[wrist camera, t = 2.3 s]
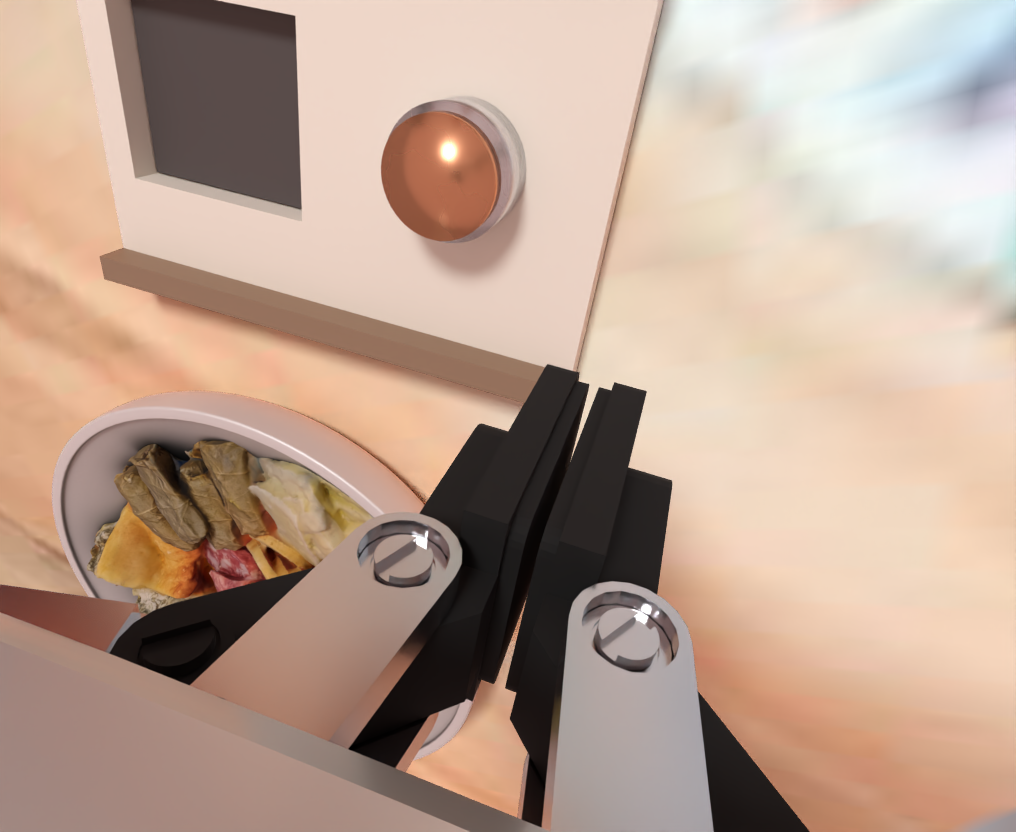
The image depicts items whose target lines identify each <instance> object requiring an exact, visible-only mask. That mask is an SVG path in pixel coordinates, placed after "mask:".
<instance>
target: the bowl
mask: <svg viewBox="0 0 1016 832" xmlns="http://www.w3.org/2000/svg"><path fill="white" fill-rule="evenodd" d="M52 506H53V513H54V519H55V524H56V528H57V531H58V535H59V538H60V541H61V544H62V547H63V549H64V551H65V554H66V556H67V559H68V561H69V563H70V565H71V567H72V569H73V571H74V573H75V575H76V577H77V578H78V580H79V582H80V583H81V585H82V587H83V588H84V590H85V592H86V593H87V595H88V596H89V597H93V598H100V599H107V600H114V601H121V602H128V603H135V604H138V608H139V612H140V613H143V614H149V613H150V612H152V611H154V610H156V609H159V608H162V607H165V606H167V605H170V604H173V603H176V602H180V601H184V600H188V599H192V598H196V597H200V596H204V595H207V594H211V593H215V592H219V591H223V590H227V589H231V588H235V587H239V586H243V585H247V584H251V583H255V582H259V581H262V580H266V579H270V578H274V577H278V576H282V575H286V574H290V573H294V572H298V571H302V570H306V569H310V568H314V567H316V566H317V565H318V564H319V563H320V562H321V561H322V560H323V559H324V558H325V557H326V556H327V555H328V554H329V553H331V552H332V551H333V550H334V549H335V548H336V547H337V546H338V545H339V544H340V543H341V542H342V541H343V540H344V539H345V538H346V537H347V536H349V535H350V534H351V533H352V532H353V531H354V530H355V529H356V528H357V527H359V526H360V525H362V524H363V523H365V522H366V521H367V520H369V519H372V518H375V517H377V516H380V515H383V514H388V513H396V512H408V513H420V511H421V510H422V508H423V507H424V504H423V503H422V502H421V501H420V500H419V498H418V497H417V496H416V495H415V494H414V493H413V492H412V491H411V490H410V489H409V488H408V487H407V486H406V485H405V484H404V483H403V482H402V481H401V480H400V479H399V478H398V477H397V476H396V475H395V474H394V473H392V472H391V471H390V470H389V469H388V468H387V467H385V466H384V465H383V464H382V463H381V462H379V461H378V460H377V459H376V458H374V457H373V456H372V455H370V454H369V453H368V452H366V451H365V450H364V449H362V448H361V447H359V446H358V445H356V444H355V443H353V442H352V441H350V440H349V439H347V438H345V437H344V436H342V435H341V434H339V433H337V432H336V431H334V430H332V429H330V428H328V427H327V426H325V425H323V424H321V423H319V422H317V421H315V420H313V419H311V418H308V417H306V416H304V415H302V414H299V413H297V412H295V411H292V410H290V409H287V408H284V407H282V406H279V405H276V404H273V403H269V402H266V401H263V400H259V399H255V398H251V397H247V396H242V395H236V394H231V393H223V392H213V391H177V392H167V393H161V394H156V395H150V396H147V397H143V398H139V399H136V400H133V401H130V402H127V403H125V404H122V405H120V406H117V407H115V408H113V409H112V410H110V411H108V412H106V413H104V414H102V415H100V416H99V417H97V418H95V419H94V420H92V421H90V422H89V423H87V424H86V425H85V426H83V427H82V428H81V429H80V430H78V431H77V432H76V433H75V434H74V435H73V436H72V437H71V439H70V440H69V441H68V442H67V444H66V445H65V447H64V448H63V450H62V452H61V454H60V456H59V458H58V461H57V464H56V467H55V471H54V475H53V483H52ZM477 691H478V689H477ZM476 694H477V692H476ZM476 694H475V697H476ZM475 697H474V699H473V701H470V700H467V699H466V700H465V702H463V703H460V704H458V705H455V706H453V707H450V708H447V709H445V710H442V711H440V712H439V715H438V717H437V720H436V722H435V725H434V727H433V729H432V731H431V732H430V734H429V735H428V737H427V739H426V740H425V742H424V743H423V745H422V747H421V748H420V750H419V751H418V753H417V754H416V756H415V758H414V759H413V760H417V759H420V758H422V757H425V756H427V755H429V754H431V753H433V752H435V751H437V750H438V749H440V748H441V747H443V746H444V745H445V744H447V743H448V742H449V741H450V740H451V739H452V738H453V737H454V736H455V735H456V734H457V733H458V731H459V730H460V729H461V727H462V726H463V724H464V722H465V721H466V719H467V717H468V714H469V712H470V710H471V707H472V705H473V702H474V700H475Z"/></svg>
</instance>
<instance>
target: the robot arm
mask: <svg viewBox="0 0 1016 832" xmlns="http://www.w3.org/2000/svg"><path fill="white" fill-rule="evenodd" d="M578 379H579V372H575V371H571V370H568V369H564V368H561V367H557V366H553V365H550V364H547V365H546V367H545V368H544V370H543V372H542V374H541V375H540V377H539V379H538V381H537V382H536V384H535V386H534V388H533V389H532V391H531V393H530V395H529V396H528V398H527V400H526V402H525V403H524V405H523V407H522V409H521V410H520V412H519V414H518V416H517V417H516V419H515V421H514V423H513V424H512V426H511V428H510V430H509V431H505V430H501V429H498V428H495V427H491V426H488V425H485V424H479V425H478V426H477V427H476V428H475V430H474V431H473V433H472V434H471V436H470V437H469V439H468V440H467V442H466V443H465V445H464V446H463V448H462V449H461V451H460V452H459V454H458V455H457V457H456V458H455V460H454V461H453V463H452V464H451V466H450V467H449V469H448V470H447V472H446V474H445V475H444V477H443V478H442V480H441V481H440V483H439V484H438V486H437V487H436V489H435V490H434V492H433V493H432V495H431V496H430V498H429V499H428V501H427V502H426V504H425V505H424V507H423V508H422V510H421V511H420V513H408V512H396V513H388V514H383V515H380V516H377V517H375V518H372V519H369V520H367V521H366V522H365V523H363V524H362V525H360V526H359V527H357V528H356V529H355V530H354V531H353V532H352V533H351V534H350V535H349V536H347V537H346V538H345V539H344V540H343V541H342V542H341V543H340V544H339V545H338V546H337V547H336V548H335V549H334V550H333V551H332V552H331V553H329V554H328V555H327V556H326V557H325V558H324V559H323V560H322V561H321V562H320V563H319V564H318V565H317V566H316V567H314V568H310V569H306V570H302V571H298V572H294V573H290V574H286V575H282V576H278V577H274V578H270V579H266V580H262V581H259V582H255V583H251V584H247V585H243V586H239V587H235V588H231V589H227V590H223V591H219V592H215V593H211V594H207V595H204V596H200V597H196V598H192V599H188V600H184V601H180V602H176V603H173V604H170V605H167V606H165V607H162V608H159V609H156V610H154V611H152V612H150V613H149V614H143V613H140V612H139V608H138V604H135V603H128V602H121V601H114V600H107V599H100V598H93V597H85V596H78V595H71V594H64V593H57V592H50V591H43V590H36V589H29V588H22V587H15V586H8V585H1V584H0V832H809V830H808V829H807V828H806V827H805V825H804V824H803V823H802V822H801V820H800V819H799V818H798V817H797V815H796V814H795V813H794V811H793V810H792V809H791V808H790V806H789V805H788V804H787V803H786V801H785V800H784V799H783V798H782V796H781V795H780V794H779V793H778V791H777V790H776V789H775V788H774V786H773V785H772V784H771V783H770V781H769V780H768V779H767V777H766V776H765V775H764V774H763V772H762V771H761V770H760V769H759V767H758V766H757V765H756V764H755V762H754V761H753V760H752V759H751V757H750V756H749V755H748V754H747V752H746V751H745V750H744V749H743V747H742V746H741V745H740V743H739V742H738V741H737V740H736V738H735V737H734V736H733V735H732V733H731V732H730V731H729V730H728V728H727V727H726V726H725V725H724V723H723V722H722V721H721V720H720V718H719V717H718V716H717V715H716V713H715V712H714V711H713V709H712V708H711V707H710V706H709V704H708V703H707V702H706V701H705V699H704V698H703V697H702V696H701V694H700V693H699V692H698V690H697V681H696V672H695V664H694V655H693V646H692V641H691V637H690V634H689V631H688V627H687V625H686V624H685V622H684V621H683V619H682V618H681V616H680V615H679V613H678V612H677V611H676V610H675V609H674V608H673V607H672V606H671V605H670V604H669V603H668V602H667V601H666V600H665V599H663V598H662V597H660V596H658V595H657V591H658V584H659V577H660V570H661V562H662V555H663V548H664V541H665V534H666V526H667V519H668V512H669V505H670V498H671V491H672V480H668V479H665V478H662V477H658V476H655V475H652V474H648V473H645V472H642V471H638V470H635V469H632V468H628V465H629V461H630V457H631V453H632V449H633V445H634V441H635V437H636V433H637V429H638V425H639V421H640V417H641V413H642V409H643V405H644V401H645V397H646V392H647V391H644V390H640V389H636V388H633V387H629V386H626V385H622V384H618V383H615V382H614V385H613V388H612V391H611V390H608V389H604V388H600V387H599V389H598V391H597V394H596V397H595V399H594V402H593V404H592V407H591V410H590V412H589V415H588V417H587V420H586V423H585V425H584V428H583V430H582V433H581V436H580V438H579V441H578V443H577V446H576V449H575V451H574V454H573V456H572V453H573V449H574V445H575V441H576V437H577V433H578V429H579V425H580V421H581V417H582V413H583V409H584V405H585V401H586V397H587V393H588V389H589V384H586V383H582V382H579V381H578ZM571 457H572V459H571ZM570 461H571V462H570ZM526 598H527V599H526ZM525 600H526V604H525V608H524V612H523V616H522V620H521V624H520V628H519V633H518V637H517V641H516V645H515V649H514V653H513V657H512V661H511V666H510V670H509V674H508V678H507V682H506V687H505V688H506V689H508V690H511V691H514V692H516V697H515V701H514V705H513V709H512V713H511V716H510V720H511V722H512V723H513V725H514V727H515V729H516V731H517V733H518V735H519V737H520V739H521V740H522V742H523V744H524V746H525V748H526V750H527V752H528V753H527V756H526V760H525V763H524V769H523V776H522V784H521V792H520V800H519V807H518V815H517V818H516V817H514V816H511V815H509V814H506V813H504V812H501V811H499V810H496V809H494V808H492V807H489V806H487V805H484V804H482V803H479V802H477V801H474V800H472V799H469V798H467V797H465V796H462V795H460V794H457V793H455V792H452V791H450V790H447V789H445V788H442V787H440V786H437V785H435V784H433V783H430V782H428V781H425V780H423V779H420V778H418V777H415V776H413V775H410V774H408V773H405V772H406V770H407V769H408V767H409V766H410V764H411V762H412V761H413V759H414V758H415V756H416V754H417V753H418V751H419V750H420V748H421V747H422V745H423V743H424V742H425V740H426V739H427V737H428V735H429V734H430V732H431V731H432V729H433V727H434V725H435V722H436V720H437V717H438V715H439V712H440V711H442V710H445V709H447V708H450V707H453V706H455V705H458V704H460V703H463V702H465V700H466V699H467V700H470V701H473V699H474V697H475V694H476V692H477V689H478V687H479V684H480V682H481V680H484V681H487V682H489V683H492V684H494V683H495V681H496V678H497V676H498V673H499V670H500V668H501V665H502V662H503V660H504V657H505V654H506V652H507V649H508V646H509V643H510V641H511V638H512V635H513V633H514V630H515V627H516V625H517V622H518V619H519V616H520V614H521V611H522V608H523V606H524V603H525Z"/></svg>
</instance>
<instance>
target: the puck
mask: <svg viewBox="0 0 1016 832" xmlns="http://www.w3.org/2000/svg"><path fill="white" fill-rule="evenodd" d="M381 178H382V184H383V189H384V192H385V195H386V198H387V200H388V202H389V204H390V206H391V208H392V209H393V211H394V213H395V214H396V215H397V217H398V218H399V219H400V220H401V221H402V222H403V223H404V224H405V225H406V226H407V227H408V228H409V229H411V230H412V231H414V232H415V233H417V234H419V235H421V236H423V237H425V238H428V239H431V240H436V241H439V242H444V243H463V242H467V241H471V240H473V239H476V238H478V237H479V236H481V235H483V234H484V233H485V232H487V231H488V230H489V229H491V228H492V227H493V226H494V225H496V224H497V223H498V222H499V221H501V220H502V219H503V218H504V217H506V216H507V215H508V214H509V213H510V212H511V211H512V210H513V208H514V207H515V205H516V204H517V202H518V200H519V198H520V196H521V194H522V191H523V188H524V184H525V179H526V158H525V152H524V148H523V144H522V141H521V139H520V136H519V134H518V132H517V131H516V129H515V127H514V126H513V124H512V123H511V121H510V120H509V119H508V118H507V117H506V116H505V114H504V113H503V112H501V111H500V110H499V109H498V108H497V107H495V106H494V105H492V104H490V103H489V102H487V101H484V100H482V99H479V98H476V97H472V96H453V97H448V98H444V99H439V100H435V101H431V102H427V103H423V104H421V105H418V106H416V107H414V108H412V109H411V110H409V111H408V112H407V113H405V114H404V115H403V116H402V117H401V118H400V119H399V120H398V122H397V123H396V124H395V126H394V127H393V129H392V131H391V133H390V135H389V138H388V140H387V143H386V145H385V148H384V151H383V155H382V161H381Z"/></svg>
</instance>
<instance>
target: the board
mask: <svg viewBox="0 0 1016 832" xmlns="http://www.w3.org/2000/svg"><path fill="white" fill-rule="evenodd" d="M663 2H664V0H76V3H77V8H78V13H79V18H80V24H81V29H82V34H83V39H84V44H85V50H86V55H87V60H88V65H89V70H90V76H91V81H92V86H93V91H94V96H95V102H96V107H97V112H98V117H99V122H100V128H101V133H102V138H103V143H104V148H105V154H106V159H107V164H108V169H109V174H110V180H111V185H112V190H113V195H114V200H115V206H116V211H117V216H118V221H119V227H120V232H121V237H122V242H123V247H124V248H122V249H119V250H116V251H113V252H111V253H108V254H105V255H102V256H100V260H101V265H102V270H103V274H104V279H106V280H109V281H113V282H116V283H119V284H123V285H126V286H130V287H133V288H136V289H140V290H143V291H146V292H150V293H153V294H157V295H160V296H163V297H167V298H170V299H174V300H177V301H180V302H184V303H187V304H190V305H194V306H197V307H201V308H204V309H207V310H211V311H214V312H218V313H221V314H224V315H228V316H231V317H234V318H238V319H241V320H245V321H248V322H251V323H255V324H258V325H262V326H265V327H268V328H272V329H275V330H279V331H282V332H285V333H289V334H292V335H295V336H299V337H302V338H306V339H309V340H312V341H316V342H319V343H323V344H326V345H329V346H333V347H336V348H339V349H343V350H346V351H350V352H353V353H356V354H360V355H363V356H367V357H370V358H373V359H377V360H380V361H383V362H387V363H390V364H394V365H397V366H400V367H404V368H407V369H411V370H414V371H417V372H421V373H424V374H428V375H431V376H434V377H438V378H441V379H444V380H448V381H451V382H455V383H458V384H461V385H465V386H468V387H472V388H475V389H478V390H482V391H485V392H488V393H492V394H495V395H499V396H502V397H505V398H509V399H512V400H516V401H519V402H522V403H525V402H526V400H527V398H528V396H529V395H530V393H531V391H532V389H533V388H534V386H535V384H536V382H537V381H538V379H539V377H540V375H541V374H542V372H543V370H544V368H545V367H546V365H547V364H550V365H553V366H557V367H561V368H564V369H568V370H571V371H575V372H576V371H577V366H578V362H579V358H580V354H581V349H582V345H583V341H584V337H585V332H586V328H587V324H588V320H589V315H590V311H591V307H592V303H593V298H594V294H595V290H596V286H597V281H598V277H599V273H600V269H601V265H602V260H603V256H604V252H605V248H606V243H607V239H608V235H609V231H610V226H611V222H612V218H613V214H614V209H615V205H616V201H617V197H618V192H619V188H620V184H621V180H622V175H623V171H624V167H625V163H626V158H627V154H628V150H629V146H630V142H631V137H632V133H633V129H634V125H635V120H636V116H637V112H638V108H639V103H640V99H641V95H642V91H643V86H644V82H645V78H646V74H647V69H648V65H649V61H650V57H651V52H652V48H653V44H654V40H655V35H656V31H657V27H658V23H659V18H660V14H661V10H662V6H663ZM453 96H472V97H476V98H479V99H482V100H484V101H487V102H489V103H490V104H492V105H494V106H495V107H497V108H498V109H499V110H500V111H501V112H503V113H504V114H505V116H506V117H507V118H508V119H509V120H510V121H511V123H512V124H513V126H514V127H515V129H516V131H517V132H518V134H519V136H520V139H521V141H522V144H523V148H524V152H525V158H526V179H525V184H524V188H523V191H522V194H521V196H520V198H519V200H518V202H517V204H516V205H515V207H514V208H513V210H512V211H511V212H510V213H509V214H508V215H507V216H506V217H504V218H503V219H502V220H501V221H499V222H498V223H497V224H496V225H494V226H493V227H492V228H491V229H489V230H488V231H487V232H485V233H484V234H483V235H481V236H479V237H478V238H476V239H473V240H471V241H467V242H463V243H444V242H439V241H436V240H431V239H428V238H425V237H423V236H421V235H419V234H417V233H415V232H414V231H412V230H411V229H409V228H408V227H407V226H406V225H405V224H404V223H403V222H402V221H401V220H400V219H399V218H398V217H397V215H396V214H395V213H394V211H393V209H392V208H391V206H390V204H389V202H388V200H387V198H386V195H385V192H384V189H383V184H382V178H381V161H382V155H383V151H384V148H385V145H386V143H387V140H388V138H389V135H390V133H391V131H392V129H393V127H394V126H395V124H396V123H397V122H398V120H399V119H400V118H401V117H402V116H403V115H404V114H405V113H407V112H408V111H409V110H411V109H412V108H414V107H416V106H418V105H421V104H423V103H427V102H431V101H435V100H439V99H444V98H448V97H453ZM159 172H160V173H159ZM162 173H164V174H162ZM166 174H168V175H166ZM170 175H172V176H170ZM174 176H176V177H174ZM178 177H180V178H178ZM182 178H183V179H182ZM185 179H187V180H185ZM189 180H191V181H189ZM193 181H195V182H193ZM197 182H199V183H197ZM201 183H203V184H201ZM205 184H207V185H205ZM209 185H211V186H209ZM213 186H215V187H213ZM217 187H219V188H217ZM221 188H223V189H221ZM225 189H227V190H225ZM228 190H230V191H228ZM232 191H234V192H232ZM236 192H238V193H236ZM240 193H242V194H240ZM244 194H246V195H244ZM248 195H250V196H248ZM252 196H254V197H252ZM256 197H258V198H256ZM260 198H262V199H260ZM264 199H266V200H264ZM268 200H270V201H268ZM272 201H274V202H272ZM275 202H277V203H275ZM279 203H281V204H279ZM283 204H285V205H283ZM287 205H289V206H287ZM291 206H293V207H291ZM295 207H297V208H295ZM299 208H301V209H299Z"/></svg>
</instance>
